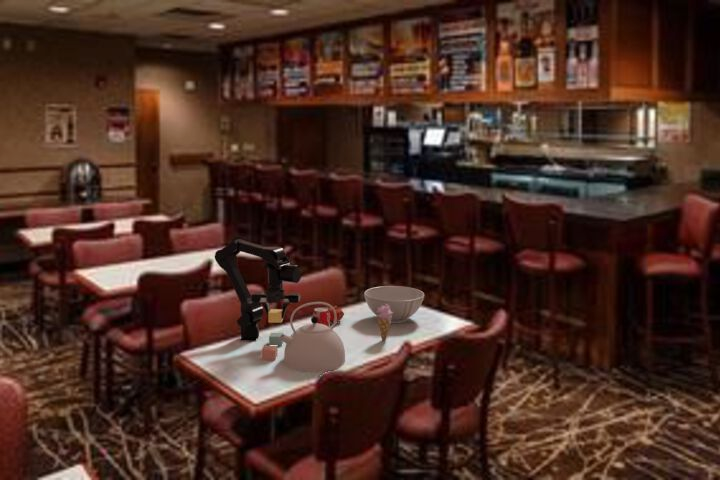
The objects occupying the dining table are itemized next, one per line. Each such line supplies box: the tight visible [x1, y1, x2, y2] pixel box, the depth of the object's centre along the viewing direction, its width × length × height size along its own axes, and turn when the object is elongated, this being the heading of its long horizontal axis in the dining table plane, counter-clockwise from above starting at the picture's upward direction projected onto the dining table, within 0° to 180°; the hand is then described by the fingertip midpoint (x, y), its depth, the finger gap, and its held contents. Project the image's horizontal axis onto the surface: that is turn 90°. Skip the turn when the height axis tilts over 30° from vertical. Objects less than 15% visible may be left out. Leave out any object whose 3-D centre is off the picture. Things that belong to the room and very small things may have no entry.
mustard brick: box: [267, 308, 284, 324], centre depth 268 cm, size 5×5×4 cm
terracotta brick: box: [261, 345, 278, 361], centre depth 254 cm, size 5×5×4 cm
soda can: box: [312, 307, 331, 328], centre depth 277 cm, size 7×7×12 cm
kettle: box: [279, 301, 346, 373], centre depth 249 cm, size 25×23×22 cm
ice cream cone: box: [375, 304, 393, 342], centre depth 274 cm, size 7×6×15 cm
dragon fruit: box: [324, 305, 345, 325], centre depth 298 cm, size 8×8×12 cm
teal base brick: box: [268, 332, 284, 347], centre depth 270 cm, size 5×5×4 cm
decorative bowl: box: [363, 285, 425, 324], centre depth 304 cm, size 27×27×12 cm
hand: (275, 318), depth 268 cm, fingers closed on mustard brick, 5 cm apart
